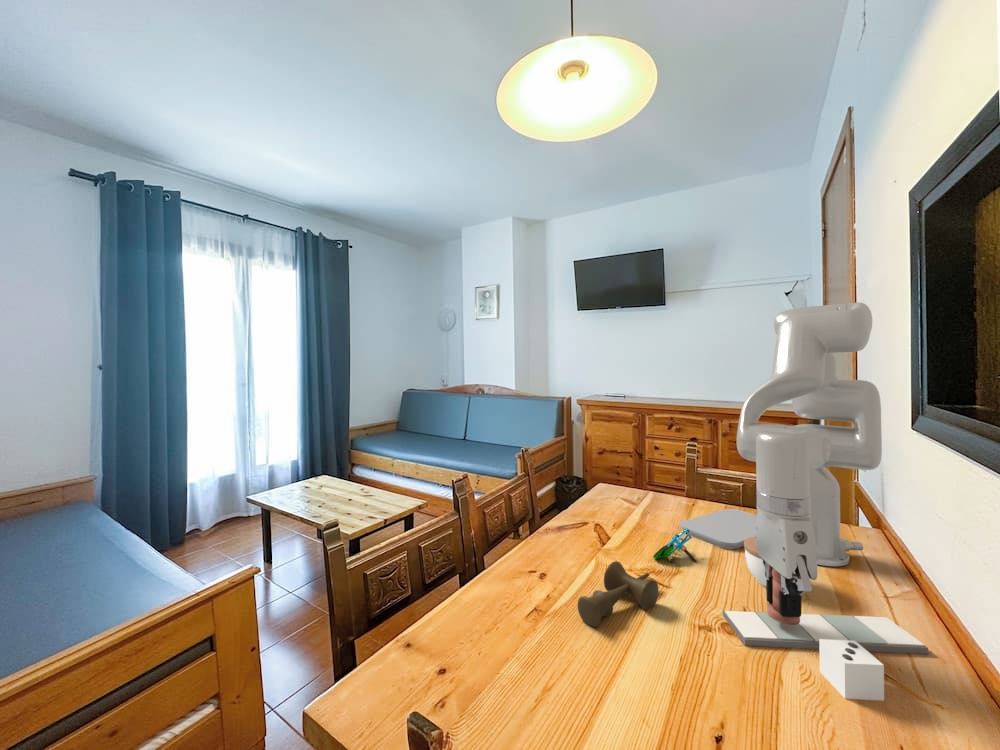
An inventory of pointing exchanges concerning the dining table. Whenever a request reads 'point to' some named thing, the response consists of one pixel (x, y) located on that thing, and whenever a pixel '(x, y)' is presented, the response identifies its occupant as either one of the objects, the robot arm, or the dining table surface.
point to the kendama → (617, 594)
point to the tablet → (723, 527)
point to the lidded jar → (755, 561)
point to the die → (851, 669)
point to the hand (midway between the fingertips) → (783, 608)
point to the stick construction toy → (668, 550)
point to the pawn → (774, 607)
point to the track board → (823, 632)
